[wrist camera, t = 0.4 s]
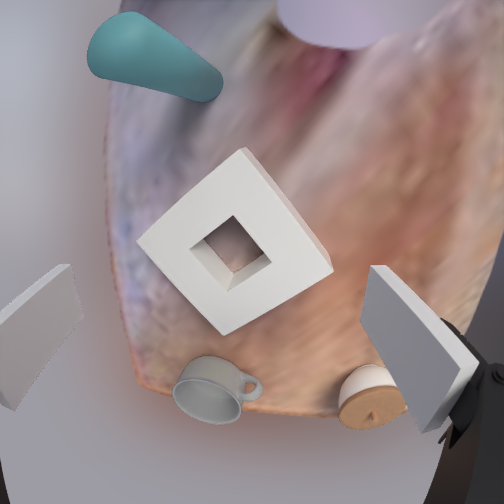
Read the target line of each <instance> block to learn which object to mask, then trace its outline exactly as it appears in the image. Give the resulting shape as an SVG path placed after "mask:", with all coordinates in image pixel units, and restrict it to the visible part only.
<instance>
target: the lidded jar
mask: <svg viewBox="0 0 504 504" xmlns="http://www.w3.org/2000/svg"><path fill="white" fill-rule="evenodd" d="M405 406H406V403H405V401H404V399H403V397H402V395H401V393H400V391H399V389H398V388H397V386H396V384H395V382H394V380H393V378H392V377H391V375H390V373H389V371H388V369H387V368H385V367H382V366H379V365H375V364H368V365H363V366H361V367H359V368H357V369H355V370H354V371H353V372H352V373H351V374H350V375H349V376H348V378H347V379H346V380H345V381H344V383H343V385H342V387H341V389H340V393H339V420H340V422H341V423H342V424H343V425H344V426H346V427H348V428H351V429H359V430H364V429H371V428H375V427H379V426H381V425H384V424H386V423H388V422H390V421H392V420H393V419H395V418H396V417H397V416H398V415H400V413H401V412H402V411H403V410H404V408H405Z"/></svg>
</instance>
